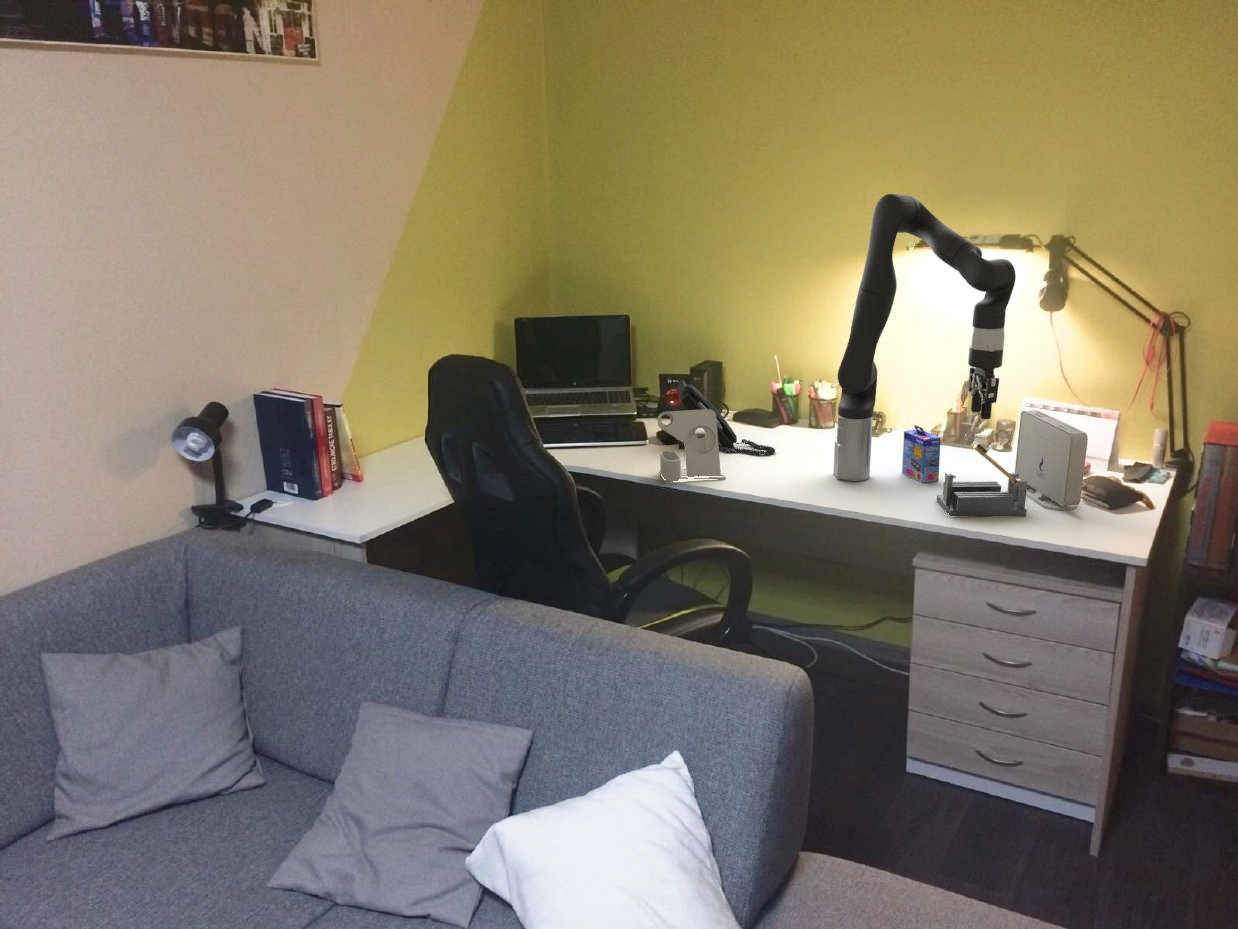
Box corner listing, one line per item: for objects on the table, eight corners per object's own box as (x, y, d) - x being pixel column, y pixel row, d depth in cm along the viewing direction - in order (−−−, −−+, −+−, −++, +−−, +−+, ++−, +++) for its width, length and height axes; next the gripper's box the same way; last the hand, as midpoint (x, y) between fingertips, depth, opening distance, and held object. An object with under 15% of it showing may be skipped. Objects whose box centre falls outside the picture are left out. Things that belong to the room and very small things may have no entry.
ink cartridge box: (900, 473, 268) (903, 422, 264) (917, 470, 270) (920, 420, 266) (921, 483, 259) (925, 431, 255) (939, 481, 261) (943, 428, 257)
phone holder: (664, 483, 264) (664, 419, 258) (657, 472, 273) (657, 410, 268) (726, 479, 266) (727, 415, 261) (717, 469, 276) (718, 407, 270)
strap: (973, 450, 233) (979, 444, 233) (968, 446, 237) (974, 439, 237) (1020, 490, 236) (1026, 484, 235) (1014, 485, 240) (1020, 479, 239)
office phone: (776, 456, 287) (778, 390, 281) (681, 459, 287) (680, 392, 281) (761, 431, 315) (763, 370, 309) (674, 433, 315) (674, 372, 309)
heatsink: (950, 517, 234) (953, 481, 231) (936, 500, 246) (939, 466, 243) (1028, 516, 233) (1032, 480, 231) (1010, 500, 245) (1013, 466, 242)
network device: (1005, 482, 258) (1012, 409, 253) (1037, 481, 259) (1045, 408, 253) (1054, 515, 234) (1064, 435, 228) (1089, 513, 235) (1099, 433, 229)
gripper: (960, 341, 235) (955, 408, 240) (980, 351, 221) (974, 422, 226) (992, 340, 235) (986, 408, 239) (1013, 351, 221) (1006, 422, 226)
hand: (980, 414), depth 233 cm, fingers open, 6 cm apart
